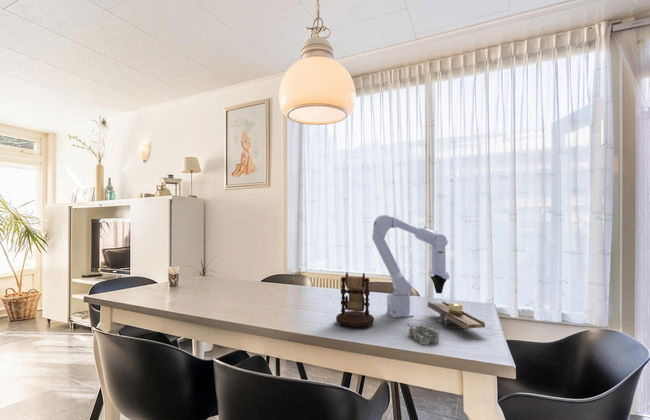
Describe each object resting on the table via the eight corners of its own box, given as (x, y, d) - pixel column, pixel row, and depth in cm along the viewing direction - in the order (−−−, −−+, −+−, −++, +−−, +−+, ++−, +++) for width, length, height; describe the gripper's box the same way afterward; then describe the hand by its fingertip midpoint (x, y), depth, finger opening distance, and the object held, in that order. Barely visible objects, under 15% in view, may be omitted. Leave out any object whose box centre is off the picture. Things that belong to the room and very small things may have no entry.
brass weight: (454, 316, 121) (454, 306, 122) (446, 312, 126) (445, 303, 126) (465, 315, 123) (465, 305, 123) (456, 311, 128) (456, 302, 128)
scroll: (375, 319, 132) (375, 270, 133) (371, 331, 118) (371, 276, 118) (340, 317, 136) (340, 269, 136) (332, 328, 121) (332, 274, 122)
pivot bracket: (445, 328, 121) (445, 316, 121) (435, 322, 129) (435, 311, 129) (472, 327, 123) (472, 315, 123) (460, 321, 130) (460, 310, 131)
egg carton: (406, 335, 115) (405, 323, 115) (424, 333, 117) (424, 321, 117) (421, 346, 105) (421, 333, 105) (442, 344, 106) (442, 331, 107)
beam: (463, 328, 112) (463, 322, 112) (427, 306, 139) (427, 301, 139) (485, 327, 113) (485, 321, 113) (444, 305, 140) (444, 301, 140)
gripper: (455, 263, 133) (456, 296, 133) (439, 259, 148) (439, 289, 147) (439, 263, 133) (439, 296, 132) (424, 259, 147) (425, 289, 146)
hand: (438, 293), depth 140 cm, fingers closed
